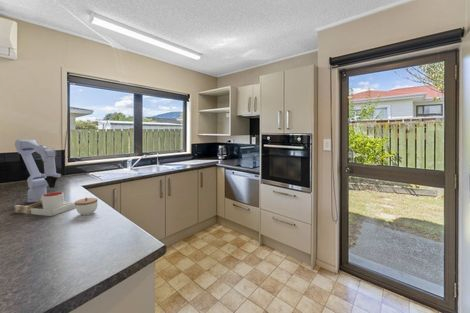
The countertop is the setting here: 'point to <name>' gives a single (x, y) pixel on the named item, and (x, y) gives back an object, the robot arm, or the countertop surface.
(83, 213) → the lidded jar
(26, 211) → the bay
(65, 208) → the dock
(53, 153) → the robot arm
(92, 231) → the countertop surface
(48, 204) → the cup
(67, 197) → the countertop surface
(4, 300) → the countertop surface
